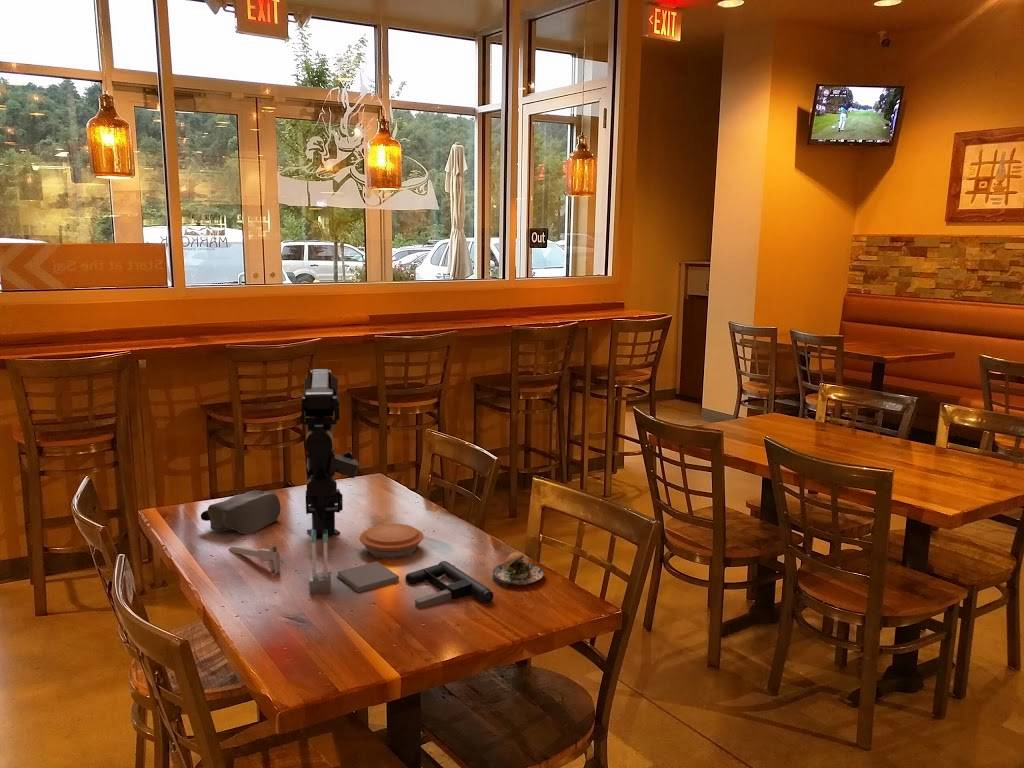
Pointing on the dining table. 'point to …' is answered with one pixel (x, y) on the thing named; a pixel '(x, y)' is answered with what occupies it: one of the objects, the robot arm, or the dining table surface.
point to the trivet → (367, 576)
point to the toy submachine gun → (453, 591)
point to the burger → (516, 571)
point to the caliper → (261, 555)
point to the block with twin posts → (321, 580)
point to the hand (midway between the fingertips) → (321, 512)
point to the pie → (391, 540)
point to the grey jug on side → (244, 512)
